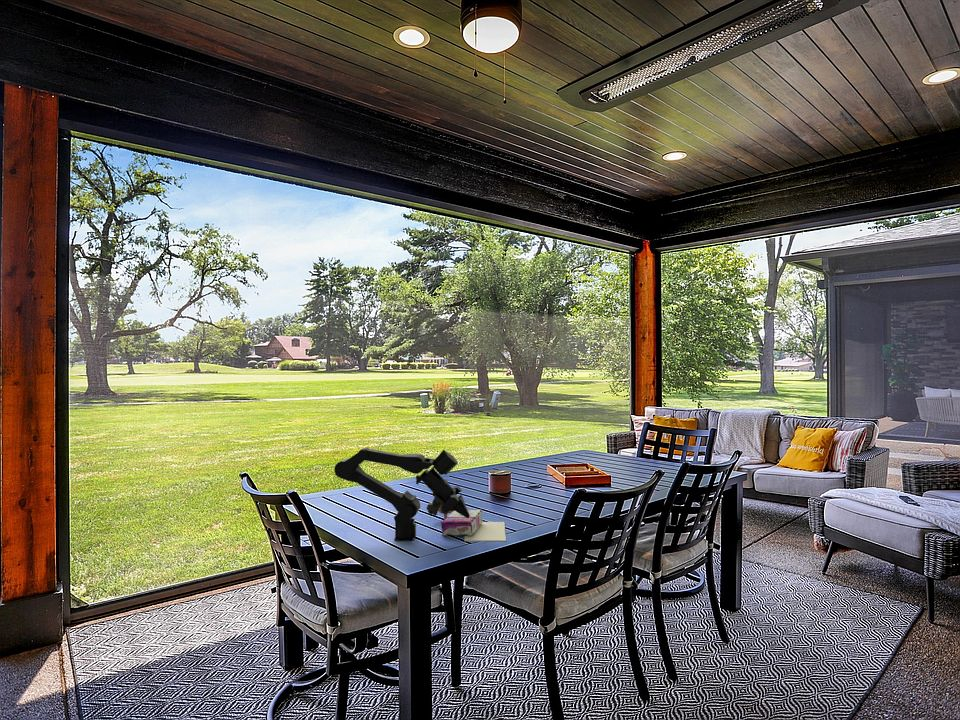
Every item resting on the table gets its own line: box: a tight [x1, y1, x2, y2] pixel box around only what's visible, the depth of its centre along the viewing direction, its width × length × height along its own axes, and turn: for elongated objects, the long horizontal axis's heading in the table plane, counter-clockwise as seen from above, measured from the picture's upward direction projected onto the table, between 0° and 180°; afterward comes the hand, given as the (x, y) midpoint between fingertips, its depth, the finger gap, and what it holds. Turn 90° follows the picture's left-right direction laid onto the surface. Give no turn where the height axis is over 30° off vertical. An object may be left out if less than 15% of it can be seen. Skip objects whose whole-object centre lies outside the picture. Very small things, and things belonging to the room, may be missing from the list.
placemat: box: [464, 521, 507, 542], centre depth 203 cm, size 14×22×1 cm, turn 179°
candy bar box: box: [440, 509, 484, 536], centre depth 205 cm, size 11×5×16 cm
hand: (468, 517), depth 194 cm, fingers closed
